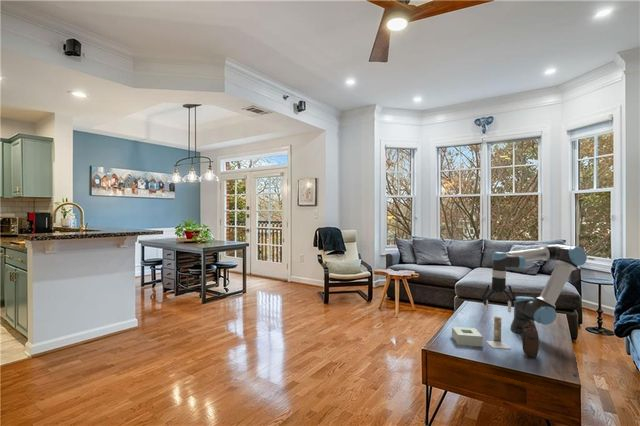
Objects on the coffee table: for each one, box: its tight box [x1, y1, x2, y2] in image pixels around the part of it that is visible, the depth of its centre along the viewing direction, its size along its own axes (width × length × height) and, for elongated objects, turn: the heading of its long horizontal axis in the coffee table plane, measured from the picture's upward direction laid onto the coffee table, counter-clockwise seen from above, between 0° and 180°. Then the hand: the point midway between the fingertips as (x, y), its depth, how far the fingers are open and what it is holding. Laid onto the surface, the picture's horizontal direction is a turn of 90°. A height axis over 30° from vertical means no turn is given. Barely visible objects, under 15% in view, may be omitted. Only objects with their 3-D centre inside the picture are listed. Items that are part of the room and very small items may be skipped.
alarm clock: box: [521, 320, 540, 360], centre depth 186 cm, size 15×7×20 cm, turn 153°
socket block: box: [451, 326, 484, 347], centre depth 206 cm, size 14×14×6 cm
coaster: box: [485, 340, 511, 350], centre depth 200 cm, size 10×10×1 cm
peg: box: [493, 316, 503, 342], centre depth 209 cm, size 4×4×14 cm
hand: (497, 311), depth 209 cm, fingers open, 13 cm apart
